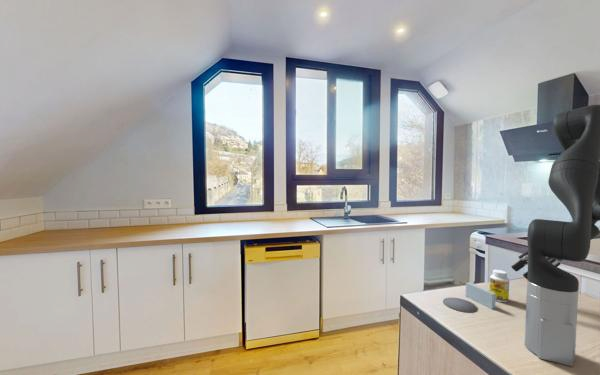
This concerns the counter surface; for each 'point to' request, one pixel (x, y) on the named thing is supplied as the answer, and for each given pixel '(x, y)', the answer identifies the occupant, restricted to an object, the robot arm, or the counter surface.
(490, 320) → the counter surface
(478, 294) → the low wall
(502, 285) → the supplement bottle
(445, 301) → the resting mat
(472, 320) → the counter surface
